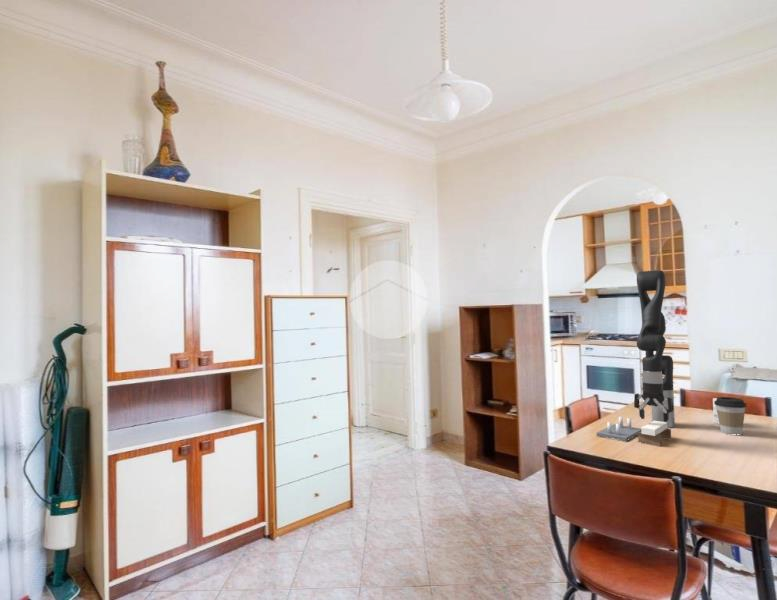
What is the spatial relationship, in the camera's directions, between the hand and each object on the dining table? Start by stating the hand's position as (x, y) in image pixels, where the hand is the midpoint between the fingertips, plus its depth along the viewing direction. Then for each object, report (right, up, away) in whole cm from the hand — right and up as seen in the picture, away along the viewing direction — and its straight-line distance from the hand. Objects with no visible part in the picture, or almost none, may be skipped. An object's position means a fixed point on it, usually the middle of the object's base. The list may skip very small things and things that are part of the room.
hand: (653, 420), depth 184 cm
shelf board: (0, -5, 0) cm, 5 cm away
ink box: (+47, -8, +22) cm, 52 cm away
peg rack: (-9, -9, +10) cm, 16 cm away
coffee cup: (+39, -8, +8) cm, 41 cm away
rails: (0, -9, 0) cm, 9 cm away
